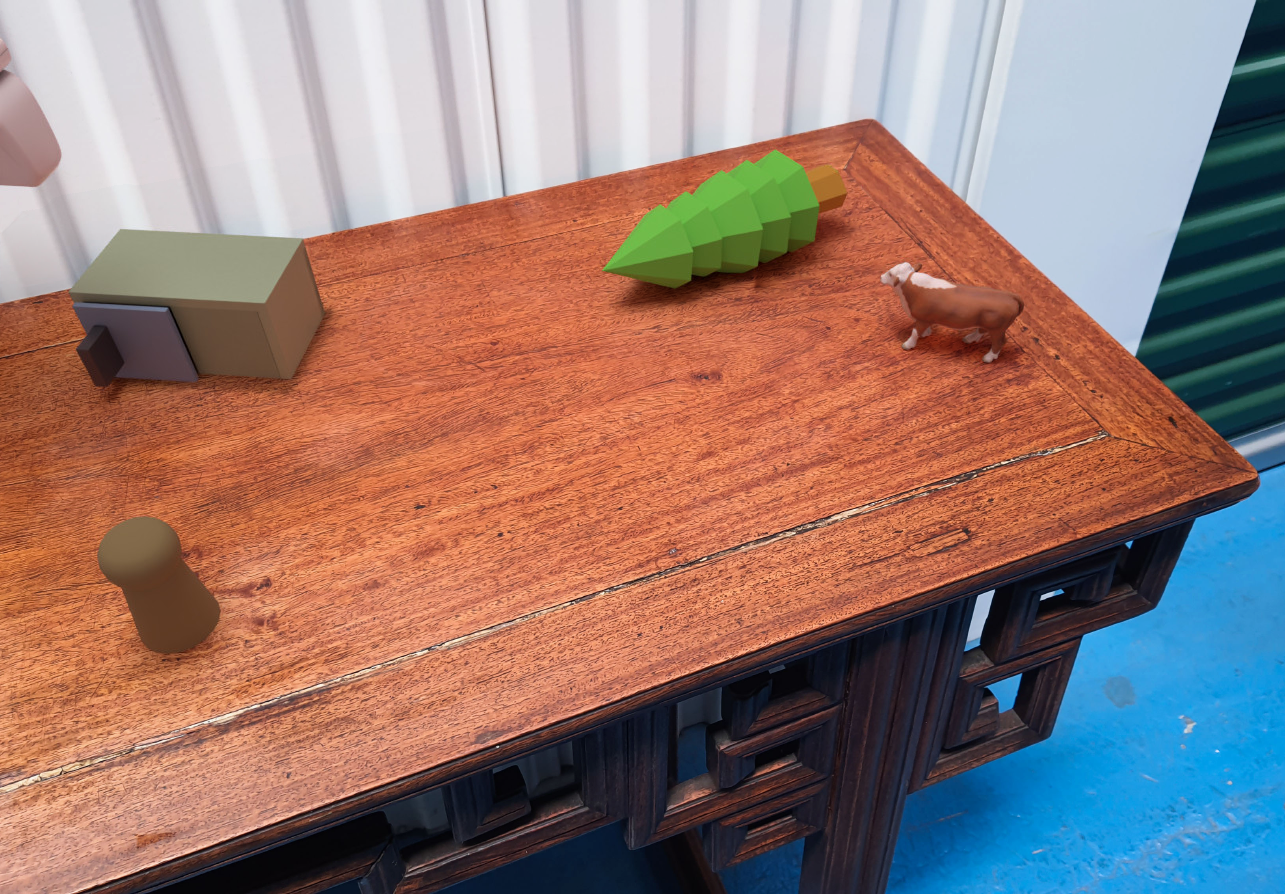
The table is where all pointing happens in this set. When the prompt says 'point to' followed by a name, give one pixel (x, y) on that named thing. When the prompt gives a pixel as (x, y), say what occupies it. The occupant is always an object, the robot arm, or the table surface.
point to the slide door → (132, 344)
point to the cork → (158, 585)
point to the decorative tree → (730, 222)
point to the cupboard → (216, 295)
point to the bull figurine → (953, 306)
